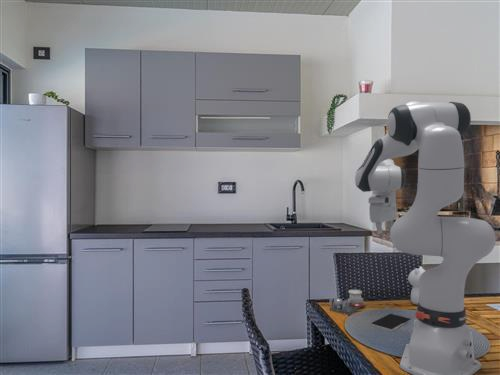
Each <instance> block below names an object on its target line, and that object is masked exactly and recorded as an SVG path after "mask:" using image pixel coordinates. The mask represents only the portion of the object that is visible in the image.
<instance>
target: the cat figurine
mask: <svg viewBox="0 0 500 375" xmlns="http://www.w3.org/2000/svg"><path fill="white" fill-rule="evenodd" d="M425 271H426V270H425V269H424V268H423V267H422V265H420V266H419V268H417V267H416V268H415V269H413V270H412V271H410V272H409V274H408V277H407V279H408V283H409V284H410V285H411V286H413V287H412V289H411V291H410V300H411V303H412V304H414V305H416V306H417V305H418V303H419V278H420V276H421V274H422V273H423V272H425Z"/></svg>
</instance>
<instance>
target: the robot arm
mask: <svg viewBox="0 0 500 375" xmlns="http://www.w3.org/2000/svg"><path fill="white" fill-rule="evenodd" d="M471 119H472V117H471V112H470V110H469V108H468V106H466V105H465V103H462V102H457V101H450V102H440V101H439V102H429V101H426V102H422V101H418V100H410V101H408V102H406V103H404V104H401V105H398V106H395V107H393V108H391V110H390V111H389V113H388V116H387V121H386V128H387V133H386V134H384V136H382V137H380V138H379V139H378V140H376V141H375V142H374V143H373V145H372V146H371V148H370V150H369V151H368V154H367V155H366V157H365V159H364V160H363V162H362V164H361V165H360V166H359V168H358V169H357V170H356V172H355V176H354V182H355V186H356V187H357V188H358V189H359V190H360V191H361V192H363V193H365V192H366V193H367V192H368V193H369V192H372V194H371V196H369V198H368V201H367V202H368V204H369V219H370V222H371V223H373V224H374V223H375V228H376V233H377V234H383V232H384V229H383V228H382V227H383V226H382V225H383V223H385V222H386V226H385V230H386V232H390V233H389V236H390V241H391V243H392V245H393V247H394V248H395V249H396V251H398V252H401V253H404V254H409V255H414V256H426V257H427V256H430V257H440V258H443V259H442V261H441V263H439V265H437V266H435V267H434V266H433V267H431V268H428V269H427V270H425V272H423V273H422V274H421V276H420V278H419V303H418V305H416V306H417V307H416V311H415V314H414V315H415V319H414V320H413V327H412V330H411V336H410V337H409V343H406V344H405V347H404V350H403V354H402V356H401V360H400V363H399V368H400V369H401V370H403V371H405V372H406V373H409V374H410V375H473V374H476V373H477V372H478V371H479V370H481V369H482V363H481V361H479V360H477V359H475V351H474V336H473V332H472V331H471V330H470V329H469V328H468V327H467V325H466V324H467V311H466V308H465V301H464V300H465V288H466V280H467V277H468V275H469V273H470V271H471V270H472V268H473V267H474V266H475V265H476V264H477V263H478V262H479V261H480V260H482V259H483V258H485V257H487V256H489V254H491V253H492V251H493V250H494V248H495V246H496V241H497V240H496V237H497V236H496V232H495V231H494V228H493V227H492V225H490V223H488V222H487V221H486V220H482V219H478V218H473V217H465V216H464V217H463V216H438V215H439V212H440V211H441V209H443V208H445V207H447V206H449V205H450V206H451V205H452V204H454V203H456V202H458V201H459V200H460V199H461V198H462V197H463V195H464V190H465V187H464V186H465V156H464V146H463V141H462V137H463V136H465V135H466V133H467V132H468V130H469V129H470V127H471V121H472V120H471ZM416 151H418V156H417V157H418V159H417V160H418V163H417V170H418V171H417V187H416V188H417V190H416V195H415V198H414V201H413V203H412V205H411V206H410V207H409V209H408V210H407V211H406V212H405V213H404V214H403V215H402V216H400V217H398V210H397V203H396V200H397V199H396V198H397V196H396V194H397V193H396V191H399V190H401V189H403V188H404V187H405V185H406V184H407V183H406V181H407V179H406V178H407V175H406V174H407V173H406V171H405V170H404V169H403V168H402V167H401V166H398V165H396V164H395V161H394V160H393V159H396V158H400V157H407V156H410V155H413V154H414V153H416ZM393 221H394V222H393Z"/></svg>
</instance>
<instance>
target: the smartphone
mask: <svg viewBox="0 0 500 375" xmlns="http://www.w3.org/2000/svg"><path fill="white" fill-rule="evenodd" d="M410 320H411V321H412V318H409V317H405V316H402V315H398V314H394V313H389V314H387V315H384V316H383V317H381V318H379V319H376V320H375V321H372V322H370V326H371V325H373V326H372V327H374V326H376V327H375V328H377V327H379V328H378V329H381V328H382V330H384V329H385V330H384V331H388V330H389V331H388V332H391V331H392V332H395V331H397V330H398V328H399V327H400V326H401V327H403V326H404V325H403V324H405V323H407V322H408V321H410ZM411 321H410V322H411ZM408 323H409V322H408ZM408 323H407V324H408ZM402 325H403V326H402ZM405 325H406V324H405ZM401 327H400V328H401ZM400 328H399V329H400ZM396 329H397V330H396Z"/></svg>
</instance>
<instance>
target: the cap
mask: <svg viewBox="0 0 500 375" xmlns="http://www.w3.org/2000/svg"><path fill="white" fill-rule="evenodd" d="M348 294H349V298H347V300H348V303H351V304H354V305H359V304H361V302H363V303H364V298H363V297H362V294H363V291H362V290H360V289H349V290H348Z"/></svg>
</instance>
